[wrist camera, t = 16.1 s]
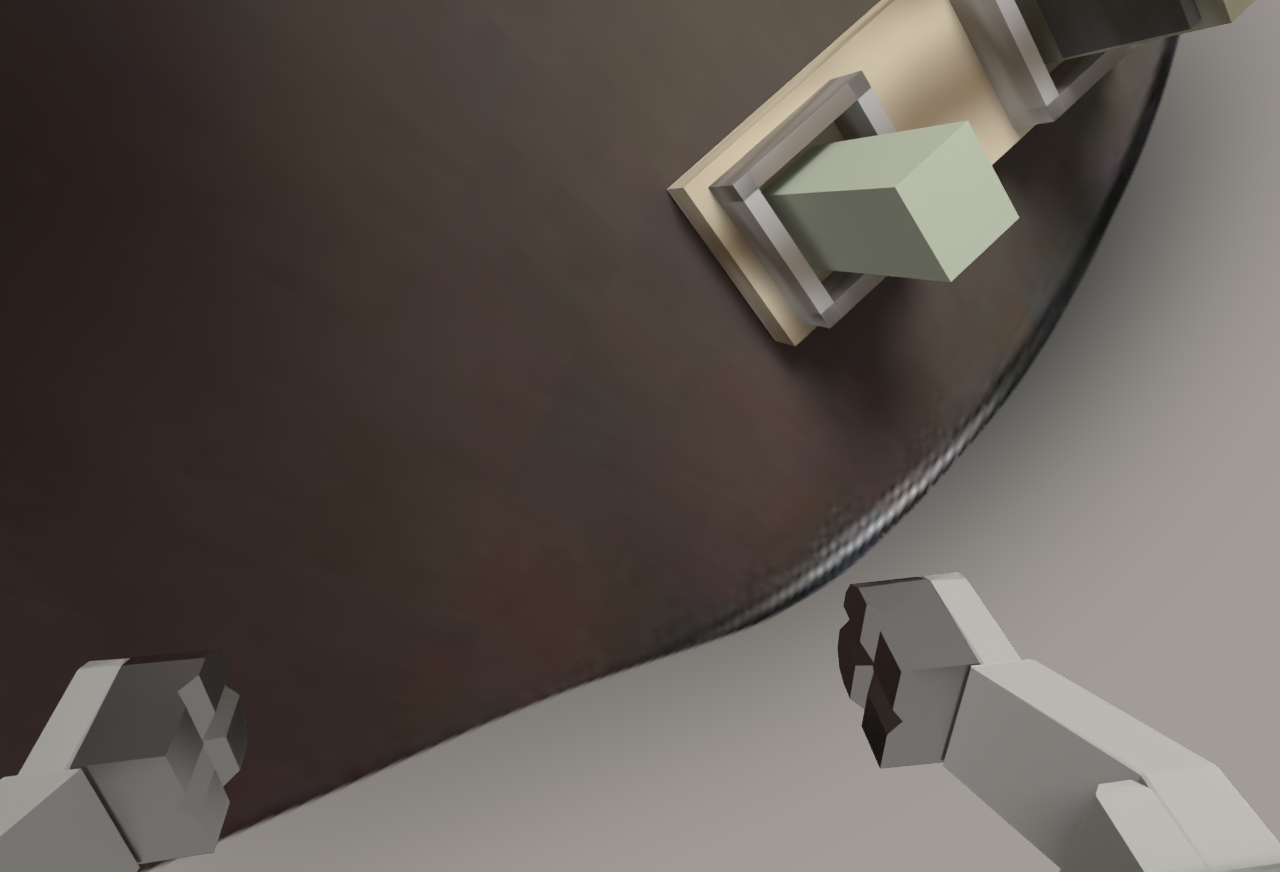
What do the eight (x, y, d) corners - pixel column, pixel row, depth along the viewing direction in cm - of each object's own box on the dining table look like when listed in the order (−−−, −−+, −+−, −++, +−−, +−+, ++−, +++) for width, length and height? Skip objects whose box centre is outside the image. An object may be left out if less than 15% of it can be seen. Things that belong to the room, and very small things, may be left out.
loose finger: (757, 196, 37) (894, 187, 27) (822, 136, 37) (980, 108, 28) (805, 267, 38) (950, 281, 29) (867, 210, 38) (1031, 206, 29)
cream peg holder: (666, 189, 37) (801, 175, 26) (1027, -130, 39) (1293, -267, 28) (775, 340, 41) (933, 384, 30) (1101, 41, 43) (1363, -22, 32)
